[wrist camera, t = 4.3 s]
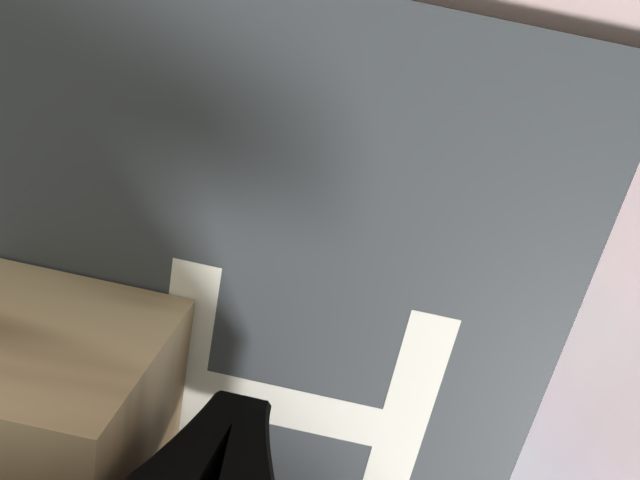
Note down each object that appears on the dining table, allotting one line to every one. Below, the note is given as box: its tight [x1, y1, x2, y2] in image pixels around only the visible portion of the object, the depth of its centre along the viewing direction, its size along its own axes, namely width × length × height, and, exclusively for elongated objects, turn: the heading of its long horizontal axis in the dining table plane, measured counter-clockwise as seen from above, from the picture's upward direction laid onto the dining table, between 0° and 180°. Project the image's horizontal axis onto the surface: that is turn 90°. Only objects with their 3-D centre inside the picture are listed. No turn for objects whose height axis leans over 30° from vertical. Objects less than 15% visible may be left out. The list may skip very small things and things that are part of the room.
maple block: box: [0, 258, 195, 480], centre depth 11 cm, size 5×5×5 cm
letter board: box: [0, 0, 640, 480], centre depth 14 cm, size 18×18×1 cm
